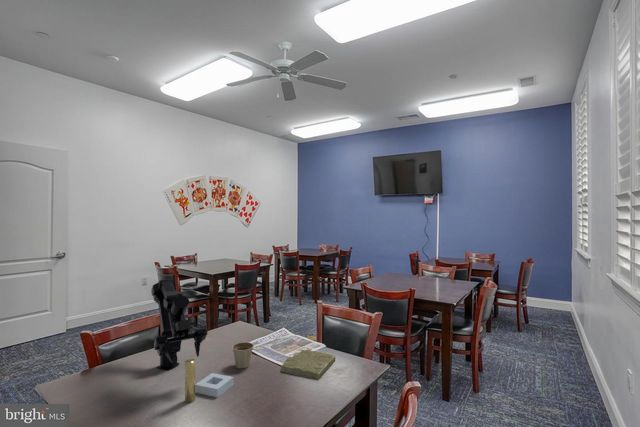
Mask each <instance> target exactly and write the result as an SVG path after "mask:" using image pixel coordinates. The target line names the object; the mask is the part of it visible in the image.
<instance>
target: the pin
mask: <svg viewBox="0 0 640 427" xmlns="http://www.w3.org/2000/svg"><path fill="white" fill-rule="evenodd" d="M184 361H185V362H184V363H185V364H184V403H186V404H192V403H193V402H195V401H196V393H195V384H196V360H195V359H194V358H190V359H187V360H184Z"/></svg>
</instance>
